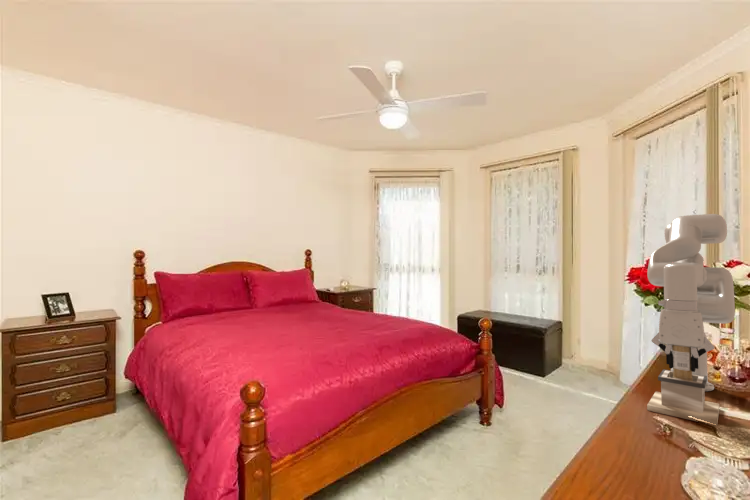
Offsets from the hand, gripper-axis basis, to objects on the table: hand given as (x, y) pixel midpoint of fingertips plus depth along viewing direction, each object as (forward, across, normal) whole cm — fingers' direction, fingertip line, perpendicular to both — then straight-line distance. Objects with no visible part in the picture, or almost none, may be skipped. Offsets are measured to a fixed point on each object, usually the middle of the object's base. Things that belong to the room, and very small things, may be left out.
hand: (682, 368), depth 110 cm
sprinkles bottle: (+4, 0, 0) cm, 4 cm away
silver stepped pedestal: (+12, 0, 0) cm, 12 cm away
